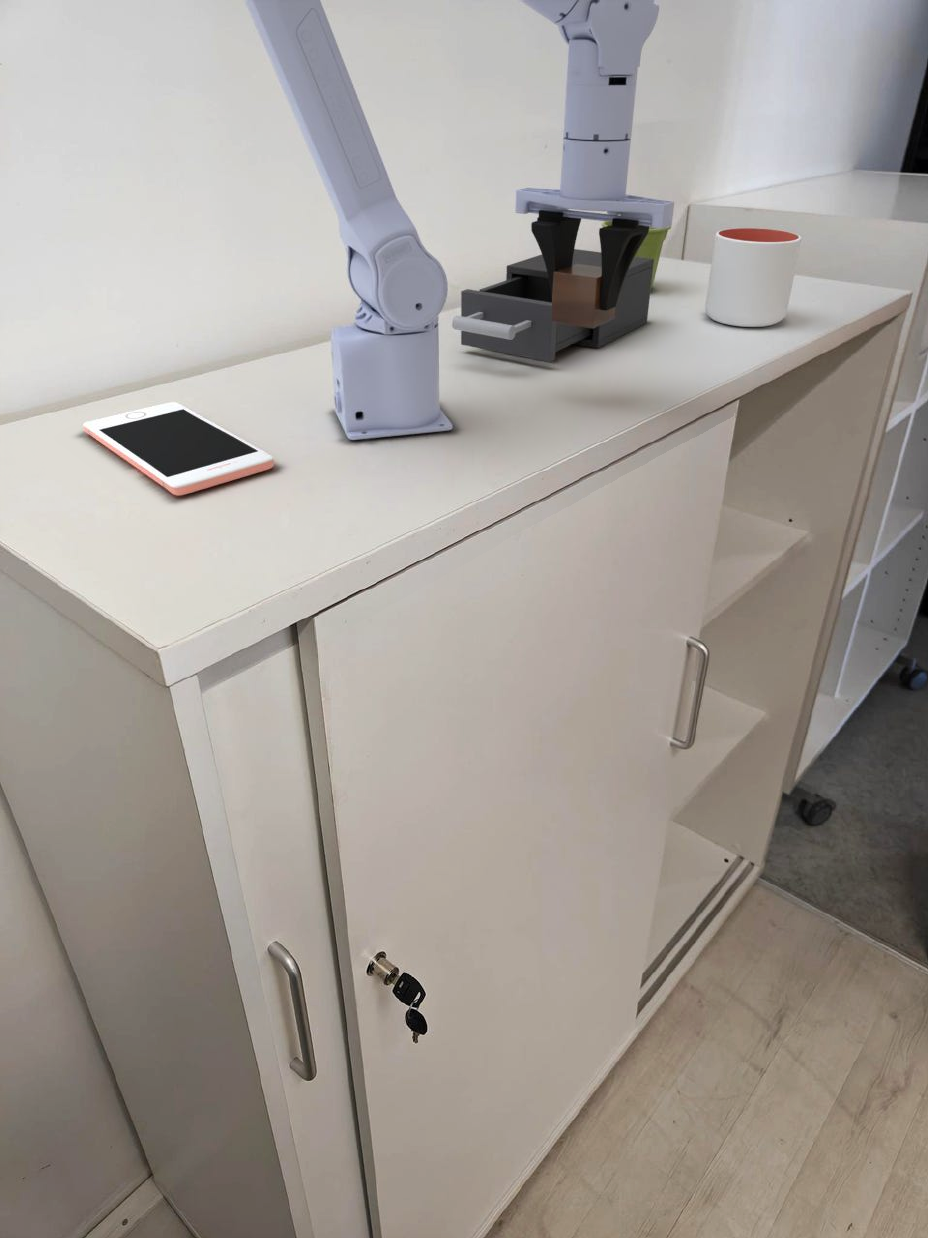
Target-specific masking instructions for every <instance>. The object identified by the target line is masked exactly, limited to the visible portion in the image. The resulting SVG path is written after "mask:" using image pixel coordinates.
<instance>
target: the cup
mask: <svg viewBox="0 0 928 1238" xmlns="http://www.w3.org/2000/svg"><path fill="white" fill-rule="evenodd" d="M801 242H802V237H801V236H800V235H799V234H797V233H793V232H791V231H786V230H779V229H772V228H759V227H758V228H757V227H737V228H736V227H735V228H726V229H720V230H718V231H717V232H716V233H715V236H714V244H713V251H712V257H711V263H710V265H711V266H710V271H709V277H708V284H707V291H706V296H705V297H706V299H705V306H704V310H705V312H706V314H707V316H708V317H709V318H710V319H712V320H713V321H715V322H717V323H720V324H724V325H728V326H734V327H743V328H763V327H770V326H773V325H777V324H778V323H779V322H781V321H782V320H783V319H784V318H785V317H786V315H787V313H788V308H789V303H790V298H791V292H792V287H793V283H794V278H795V273H796V268H797V263H798V258H799V252H800V248H801Z"/></svg>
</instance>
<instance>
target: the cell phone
mask: <svg viewBox="0 0 928 1238" xmlns="http://www.w3.org/2000/svg"><path fill="white" fill-rule="evenodd" d="M83 429H84V432H85V434H88V435H89V436H91V437H92V438H93V439H95V440H96V441H98V442H99V443H101V444H102V445H103V446H105V447H106V448H107V449H109V450H110V451H112V452H113V453H114V454H116V455H117V456H119V457H120V458H122V459H123V460H124V461H126V462H127V463H129V464H130V465H132V466H133V467H134V468H136V469H137V470H139V471H140V472H142V473H143V474H144V475H146V476H147V477H149V478H150V479H151V480H153V481H154V482H156V483H157V484H158V485H160V486H162V487H163V488H164V489H166V490H167V491H168V492H169V493H171V494H172V495H174V496H184V495H188V494H192V493H195V492H198V491H201V490H204V489H208V488H212V487H214V486H218V485H221V484H225V483H228V482H231V481H234V480H237V479H241V478H245V477H248V476H251V475H254V474H257V473H261V472H265V471H268V470H270V469H272V468H274V466H275V461H274V457H273V455H271V454H269V453H268V452H267V451H264V450H263V449H261V448H259V447H258V446H255V444H252V443H250V442H249V441H247V440H245V439H243V438H241V437H240V436H237V435H236V434H234V433H232V432H231V431H229V430H227V429H226V428H223V427H222V426H220V425H218V424H216V423H214V422H213V421H211V420H210V419H208V418H205V417H204V416H202V415H201V414H198V413H197V412H195V411H193V410H191V409H190V408H188V407H186V406H184V405H182V404H181V403H178V402H176V401H171V402H166V403H165V402H164V403H161V404H157V405H153V406H147V407H143V408H139V409H136V410H131V411H127V412H123V413H119V414H114V415H109V416H106V417H102V418H97V419H93V420H88V421H86V422H84V423H83Z"/></svg>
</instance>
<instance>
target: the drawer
mask: <svg viewBox="0 0 928 1238" xmlns="http://www.w3.org/2000/svg"><path fill="white" fill-rule="evenodd" d="M460 295H461V298H460V302H461V303H460V306H461V307H460V309H461V310H460V312H461V315H455V316H454V317H453V318H452V329H454V330H456V331H460V345H462V346H466V347H471V348H477V349H482V350H485V351H491V352H497V353H502V354H508V355H511V356H518V357H522V358H527V359H533V360H537V361H543V362H548V363H550V362H552V361H554V360H556V353H557V352H559V351H562V350H563V349H565V348H568V347H569V346H571V345H574V344H573V343H575V342H577V341H580V340H582V339H584V338H586V337H588V336H590V335H592V334H593V328H587V327H581V326H576V325H570V324H564V323H559V322H553V321H551V312H552V295H551V288H550V283H549V279H546V278H540V277H533V276H526V275H520V276H517V277H515V278H512V279H509V280H503V281H500V282H498V283H494V284H492V285H489V286H485V287H483V288H480V289H479V290H476V289H469V288H467V289H464V290H461V291H460Z"/></svg>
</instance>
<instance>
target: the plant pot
mask: <svg viewBox="0 0 928 1238" xmlns="http://www.w3.org/2000/svg"><path fill="white" fill-rule="evenodd" d="M609 225H610V226H612V222H608V221H602V223H601V228H603V227H606V226H609ZM671 228H672V225H671V226H670V227H667V228H664V229H656V228H652V227H651V226H649V231H648V234H647V236H646V238H645V239H644V241H643V242H642V244H641V246H640V247H639V249H638V251H637V253H636V254H635V256H634V257H641V258H649V259H654V264H653V273H652V282H651V290H653V285H654V282H655V279H656V274H657V270H658V265H659V261H660V257H661V254H662V249H663V245H664V242H665V240H666V239H667V235H668V232H669V230H670V229H671Z"/></svg>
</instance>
